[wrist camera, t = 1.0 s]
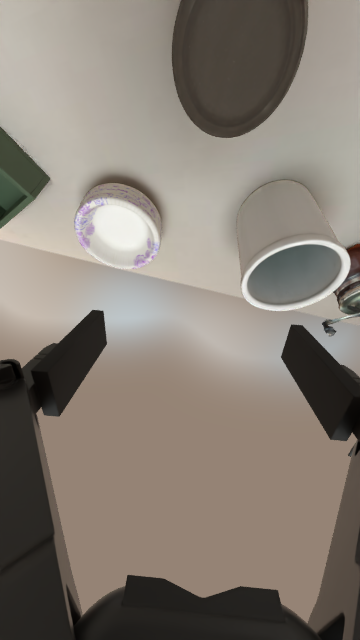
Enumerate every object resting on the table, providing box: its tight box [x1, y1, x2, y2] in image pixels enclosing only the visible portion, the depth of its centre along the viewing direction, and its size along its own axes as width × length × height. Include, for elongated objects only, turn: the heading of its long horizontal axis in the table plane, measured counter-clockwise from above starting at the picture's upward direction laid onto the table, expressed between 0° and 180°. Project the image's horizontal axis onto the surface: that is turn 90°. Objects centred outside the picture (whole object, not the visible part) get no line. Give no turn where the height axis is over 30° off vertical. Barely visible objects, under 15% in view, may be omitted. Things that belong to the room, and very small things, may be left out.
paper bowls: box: [74, 183, 162, 269], centre depth 42 cm, size 15×15×8 cm
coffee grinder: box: [322, 244, 360, 336], centre depth 47 cm, size 13×15×18 cm
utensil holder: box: [237, 180, 351, 311], centre depth 38 cm, size 15×15×18 cm
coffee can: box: [172, 0, 308, 138], centre depth 21 cm, size 10×10×14 cm
